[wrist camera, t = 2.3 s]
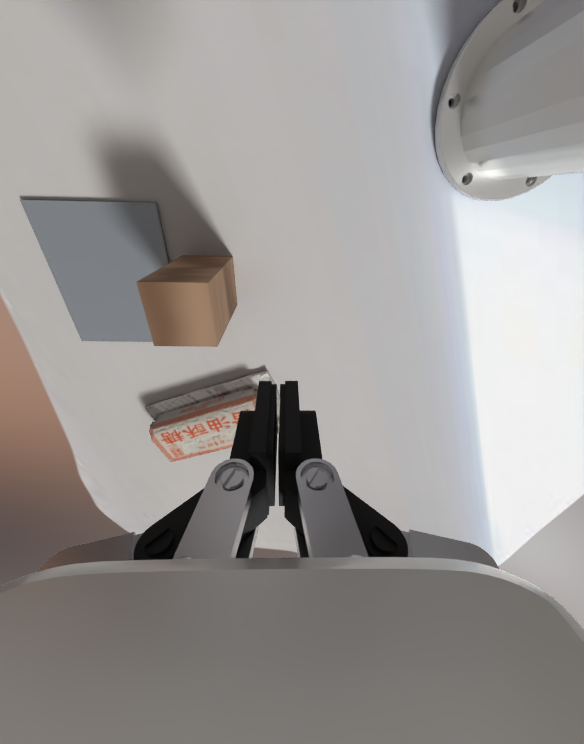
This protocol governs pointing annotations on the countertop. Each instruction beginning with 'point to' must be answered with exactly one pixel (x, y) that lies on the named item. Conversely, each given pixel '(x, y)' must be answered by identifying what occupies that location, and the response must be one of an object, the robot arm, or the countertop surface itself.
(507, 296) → the countertop surface
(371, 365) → the countertop surface
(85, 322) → the rubber mat
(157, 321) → the walnut block
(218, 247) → the countertop surface
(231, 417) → the packaged product
